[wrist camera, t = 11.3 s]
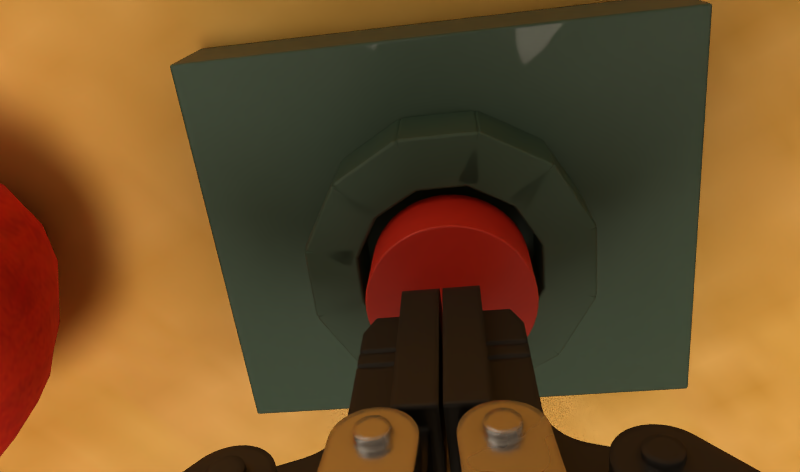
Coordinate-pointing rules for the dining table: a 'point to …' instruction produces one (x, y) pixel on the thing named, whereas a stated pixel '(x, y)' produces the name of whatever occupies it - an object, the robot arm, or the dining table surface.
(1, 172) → the dining table surface
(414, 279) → the button
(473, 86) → the dark grey base plate
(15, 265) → the apple
